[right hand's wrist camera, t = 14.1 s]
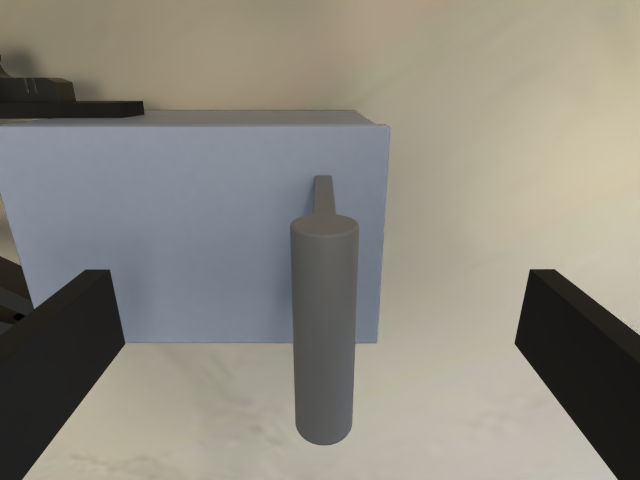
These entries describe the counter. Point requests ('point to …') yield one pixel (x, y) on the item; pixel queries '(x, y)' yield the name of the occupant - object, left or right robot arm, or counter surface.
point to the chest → (222, 117)
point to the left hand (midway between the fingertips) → (148, 207)
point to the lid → (214, 236)
